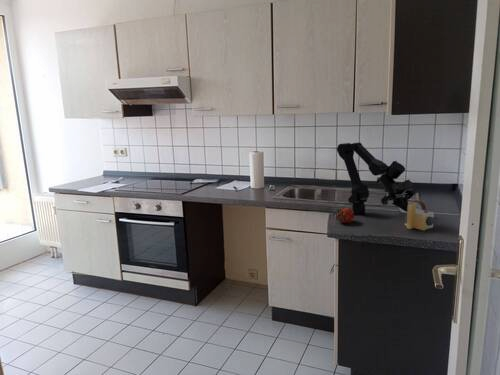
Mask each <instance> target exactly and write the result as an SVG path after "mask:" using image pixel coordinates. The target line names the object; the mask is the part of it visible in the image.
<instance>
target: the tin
mask: <svg viewBox="0 0 500 375" xmlns="http://www.w3.org/2000/svg"><path fill="white" fill-rule="evenodd" d="M409 204H415V205H416V208H415V209H420V210H424V211H427V208H426V207H427V206H426V204H425V203H424V202H423V201H422V200H419V199H415V198H410V199H409V200H408V205H409ZM397 209H398V211H399V212H400V213H402V214H404V215H405V211H404V210H403V209H401V208H399V207H397Z"/></svg>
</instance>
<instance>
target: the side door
mask: <svg viewBox="0 0 500 375" xmlns="http://www.w3.org/2000/svg"><path fill="white" fill-rule="evenodd" d="M415 208H416V205H415V204H409V205H408V207H407V225H406V229H409V230H411V229H417V230H420V231H426V229H425V226H426V216H421V215H417V214H415Z"/></svg>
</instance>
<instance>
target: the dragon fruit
mask: <svg viewBox="0 0 500 375" xmlns="http://www.w3.org/2000/svg"><path fill="white" fill-rule="evenodd" d="M355 216H356V215H354V211H353V210H352V209H351V207H349V206H346V207H342V208H339V209H337V210H336V213H335V218H336V220H337V221H339V222H340V223H341V224H343V223H344V224H345V223H347V224H350V223H352V221H353V220H354V218H355Z"/></svg>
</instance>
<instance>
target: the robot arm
mask: <svg viewBox="0 0 500 375" xmlns="http://www.w3.org/2000/svg"><path fill="white" fill-rule="evenodd" d="M336 151H337V154H338V156H339V157H340V158H341V160H343V161H344V164H345V167H346V171H347V174H348V177H349V179H350V182H351V191H350V192H351V195H350V196H349V197H348V199H347V200H348V203H349V204H350V209H352V210H353V211H354V215H355V216H359V215H366V205H365V203H366V202H367V201H368V199H369V196H370V190H369V189H368V185H367V184H364V183H363V182H362V179H361V176H360V174H359V171H358V169H357V168H358V167H357V165H356V162H355V160H354V155H355V153H356V155H358V156H359V157H360V159H361V160H362V161H363V162H364V163H366V165H367V166H368V170H369V172H370V173H371V175H373V176H374V177H375V176H379V177H377V178H376V184H379V183H380V184H381V185H382V187H383V188H384V192H385V193H387V194H385V195H384V196H383V197H382V198H381V199H380V203H381V204H382V206H386V205H388V203H389V201H392V203H391V205H394V206H395V207H397V208H398V207H399V208H401V209H403V210H404V211H406V212H407V207H408V200H409V199H412V198H413V196H414V195H416V194H417V191H416V190H415V189H414V188H412V186H413V183H412V181H411V180H410V179H407V180H406V179H405V180H404V181H403V182H398V181H397V182H396V180H397V179H398V178H399V177H400V176H401V175H402V174H403V173H404V172H405V171H406V168H405V166H404V165H403V164H402V163H400V162H398V161H397V160H393V161H392V162H391V164H390V165H387V164H386V162H384V161H382V160H380V159H377V158H376V157H375V156H374V155H373V154H372V153H370V151H369V150H368V149H367V148H366V147H365V146H364V145H363V144H362V142H353V143H350V142H345V143H340V144H338V145H337V148H336Z"/></svg>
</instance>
